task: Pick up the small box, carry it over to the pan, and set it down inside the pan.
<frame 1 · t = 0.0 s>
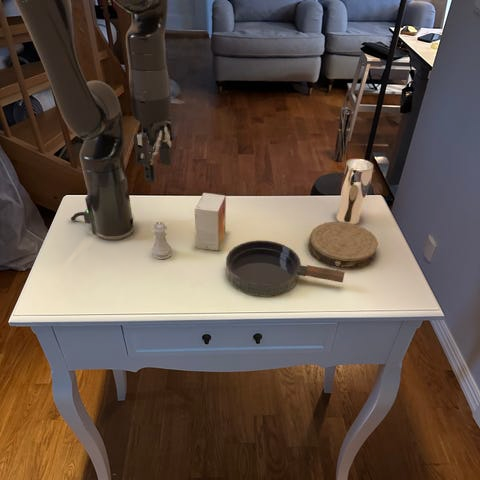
hand: (158, 172, 98), 17 cm above the table, tool pointing down, fingers open, 8 cm apart
pan: (262, 273, 100), on the table
silver metal cup: (347, 219, 119), on the table
wood slice: (341, 250, 108), on the table
rook chess piece: (162, 255, 105), on the table
pan handle: (320, 272, 96), point 3 cm above the table
small box: (211, 241, 110), on the table
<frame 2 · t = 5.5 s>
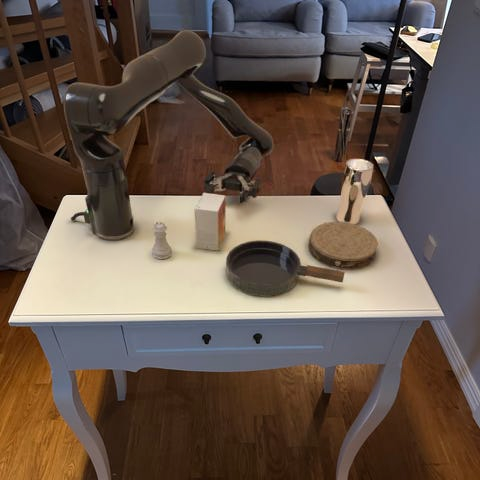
hand: (224, 197, 113), 6 cm above the table, tool horizontal, fingers open, 8 cm apart
nothing on the table moved.
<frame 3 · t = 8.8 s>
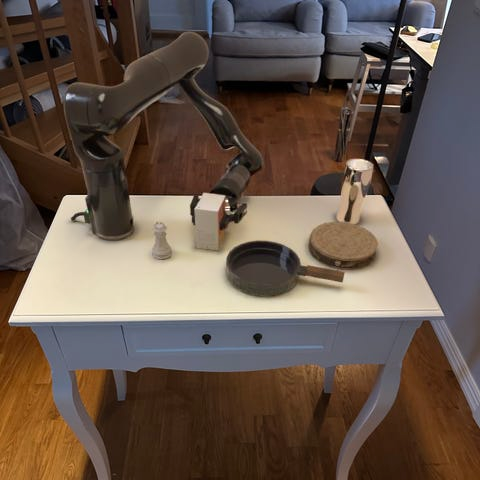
hand: (207, 224, 104), 6 cm above the table, tool horizontal, fingers closed on small box, 6 cm apart
small box: (211, 241, 110), on the table, touching gripper
everything else where it was.
when the fingers open (7 cm above the table, at t = 17.0 s): small box stays where it is, resting on pan.
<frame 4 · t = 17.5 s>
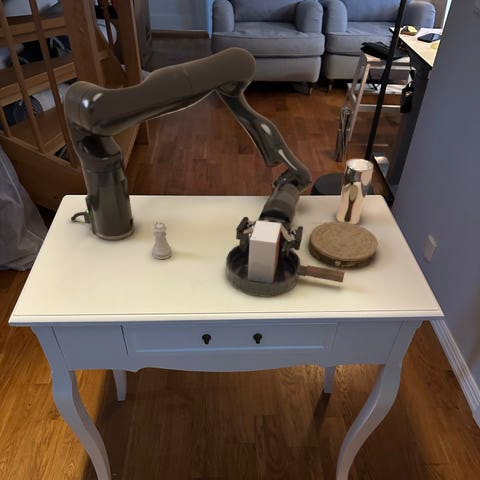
hand: (262, 251, 94), 7 cm above the table, tool horizontal, fingers open, 8 cm apart
small box: (262, 272, 100), resting on pan
everything else where it was.
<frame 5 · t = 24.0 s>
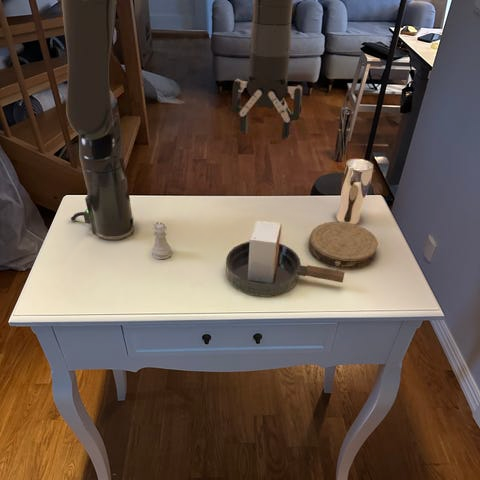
hand: (264, 136, 96), 24 cm above the table, tool pointing down, fingers open, 8 cm apart
nothing on the table moved.
at the end: small box inside the target area in the pan (0.2 cm from its centre), point 0.3 cm above the pan's base; small box tilted 0°; the gripper is holding nothing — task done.
